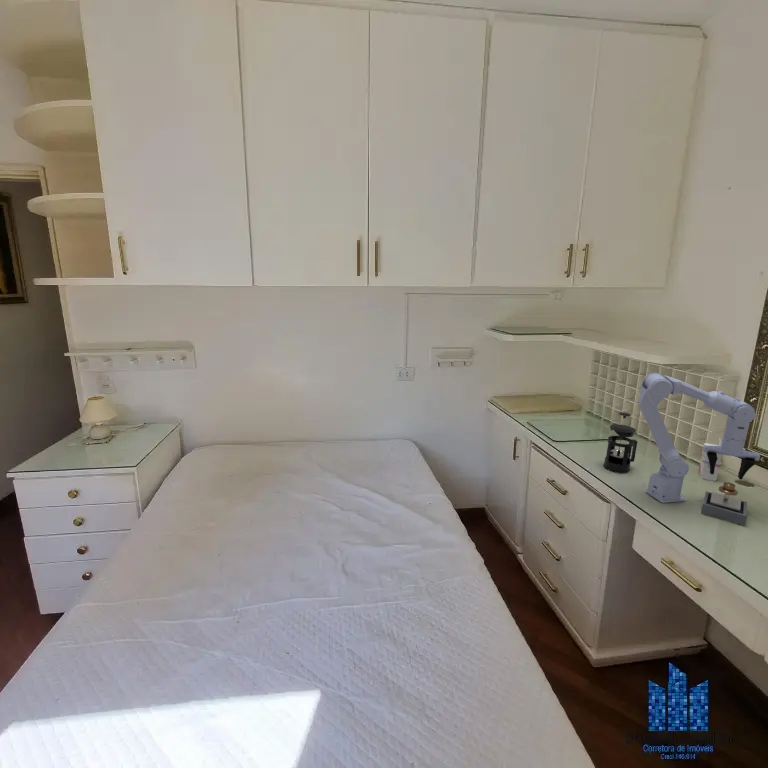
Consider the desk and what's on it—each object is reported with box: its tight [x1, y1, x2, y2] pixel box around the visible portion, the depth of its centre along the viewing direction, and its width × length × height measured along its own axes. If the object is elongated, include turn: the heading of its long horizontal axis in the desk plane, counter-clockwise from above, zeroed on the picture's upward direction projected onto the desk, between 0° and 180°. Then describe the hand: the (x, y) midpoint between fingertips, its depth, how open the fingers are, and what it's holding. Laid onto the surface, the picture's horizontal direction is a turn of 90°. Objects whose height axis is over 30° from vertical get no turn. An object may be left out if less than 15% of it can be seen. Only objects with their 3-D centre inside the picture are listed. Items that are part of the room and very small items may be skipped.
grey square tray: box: [700, 490, 748, 527], centre depth 141 cm, size 11×11×4 cm
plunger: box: [710, 481, 742, 511], centre depth 140 cm, size 8×8×6 cm
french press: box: [603, 411, 638, 474], centre depth 170 cm, size 12×9×23 cm
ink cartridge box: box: [698, 438, 723, 482], centre depth 166 cm, size 9×5×15 cm, turn 151°
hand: (725, 475), depth 145 cm, fingers open, 7 cm apart
